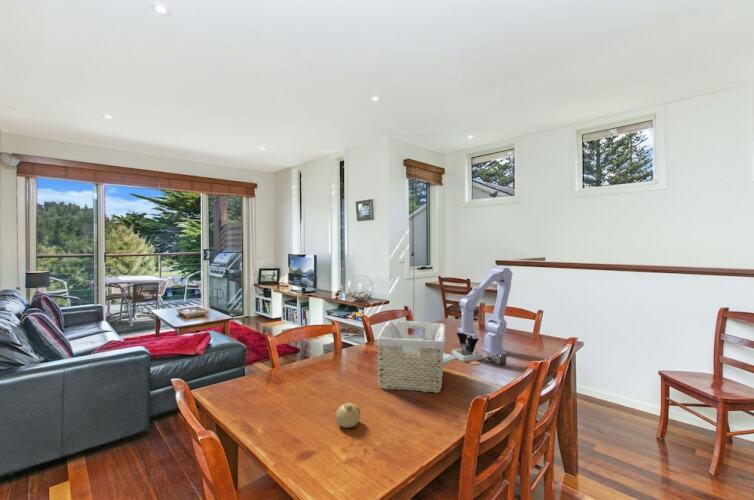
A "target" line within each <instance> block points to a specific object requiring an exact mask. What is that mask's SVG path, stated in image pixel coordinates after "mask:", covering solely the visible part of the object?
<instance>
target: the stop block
mask: <svg viewBox="0 0 754 500" xmlns="http://www.w3.org/2000/svg"><path fill="white" fill-rule="evenodd" d="M461 349H462V352H461V355H463V356H469V355H473V352H469V346H468V342H466V343H462V347H461Z"/></svg>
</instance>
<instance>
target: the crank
mask: <svg viewBox="0 0 754 500" xmlns="http://www.w3.org/2000/svg"><path fill="white" fill-rule="evenodd" d="M486 352H487V351H486ZM486 357H487V358H488V359H491V360H493V361H495V363H497V364H499V365H500V366H501V367H507V354H499V355H495V354H494V353H493V352H487V354H486Z"/></svg>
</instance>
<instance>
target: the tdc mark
mask: <svg viewBox="0 0 754 500" xmlns="http://www.w3.org/2000/svg"><path fill="white" fill-rule="evenodd" d="M467 362H468V363H469V364H471V365H473V366H476V365H480V364H481V362H479V360H475V361H467Z"/></svg>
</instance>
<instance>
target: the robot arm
mask: <svg viewBox="0 0 754 500" xmlns="http://www.w3.org/2000/svg"><path fill="white" fill-rule="evenodd" d="M487 273H488V274H487V275H486V276H485V278H483V281H481V283H480V284H479V285H478V286H474V287H473V288H472V289H471V290H470V292H469V293H468V294H467V295H466V296H464V297H462V298H461V299H460V300H459V303H458V306H459V307H460V312H461V325H460V326H461V327H460V326H459V327H457V332H456V336H457V338H458V340H459V345H460V348H462V343H468V346H469V352H474V350H475V347H476V344H477V343H478V342H479V337H478V334H477V333H476V332H475V330H474V310H475V309H476V307H477V304H478V302H479V300H481V299H482V297H483V296H484V295H485V291H486V290H487V289H488V288H489V287H490V286H491V285H492V284H493V283H494V282H496V283H497V284H498V290H497V294H496V299H495V304H494V308H493V311H492V315H490V316H488V319H487V321H486V323H485V325H484V329H485V330H486V332H487V333H486V334H485V335H484V346H483V347H484V348H483V349H482V350H484V351H486V352H493V353H494V354H495V355H497V356H500V354H506V355H507V351H504V337H505V336H506V334H507V330H508V327H507V325H508V322H507V321H506V320H505V318H504V317H505V314H506V310H507V309H506V308H507V304H508V300H509V296H510V292H511V287H512V279H513V275H514V274H513V272H512V270H511V269H510V268H509V267H501V266H496V265H495V266H492V267H491V268H490V269H489V270H488V271H487Z"/></svg>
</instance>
